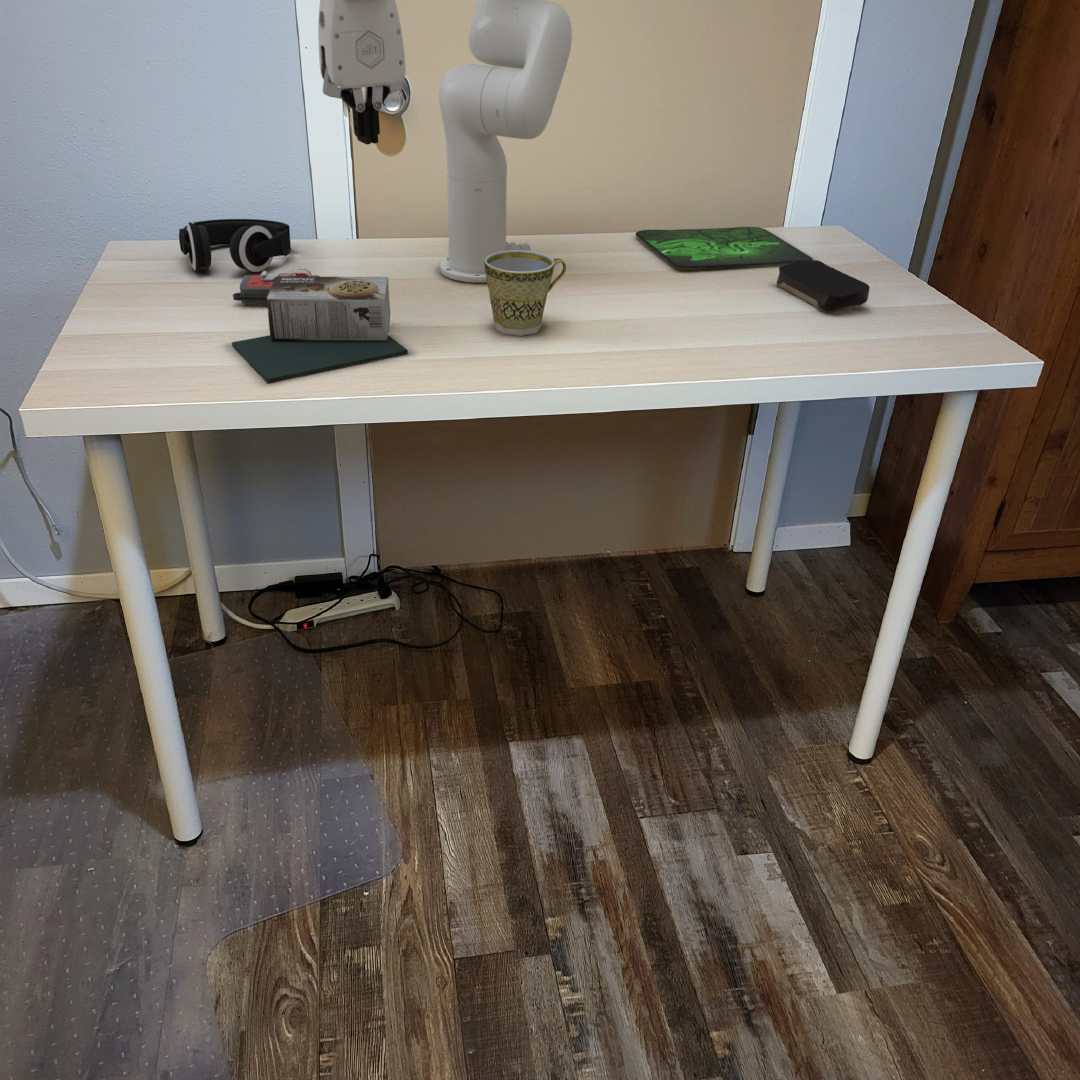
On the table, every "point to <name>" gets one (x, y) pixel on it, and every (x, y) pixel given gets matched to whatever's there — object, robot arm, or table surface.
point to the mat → (311, 355)
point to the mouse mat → (721, 247)
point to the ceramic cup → (519, 289)
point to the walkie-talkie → (263, 286)
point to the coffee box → (329, 308)
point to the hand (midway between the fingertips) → (367, 141)
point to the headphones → (236, 242)
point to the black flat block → (822, 285)
